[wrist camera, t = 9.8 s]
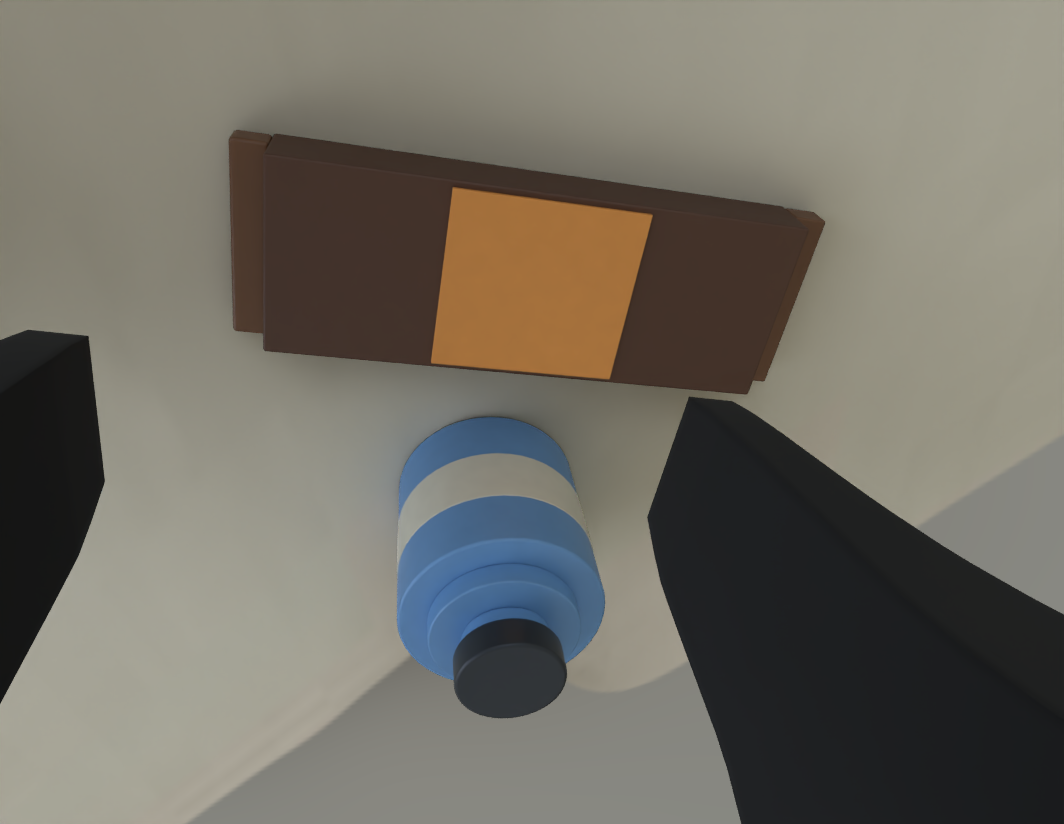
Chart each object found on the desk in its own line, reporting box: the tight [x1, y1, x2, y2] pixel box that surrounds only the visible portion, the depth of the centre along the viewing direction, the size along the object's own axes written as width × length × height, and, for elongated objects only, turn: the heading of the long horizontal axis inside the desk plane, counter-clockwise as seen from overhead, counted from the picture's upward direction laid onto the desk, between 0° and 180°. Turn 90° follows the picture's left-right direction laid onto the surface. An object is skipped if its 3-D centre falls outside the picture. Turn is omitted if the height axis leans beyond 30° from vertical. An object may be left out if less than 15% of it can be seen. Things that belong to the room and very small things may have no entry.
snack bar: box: [229, 130, 825, 394], centre depth 19 cm, size 14×4×2 cm, turn 80°
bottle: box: [397, 417, 605, 718], centre depth 20 cm, size 5×5×7 cm
